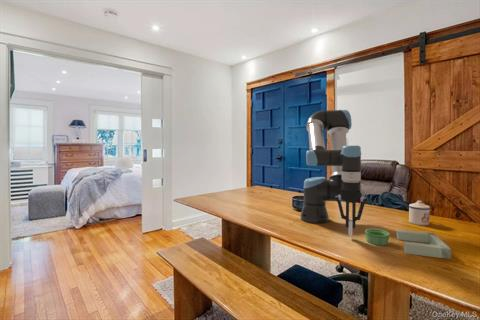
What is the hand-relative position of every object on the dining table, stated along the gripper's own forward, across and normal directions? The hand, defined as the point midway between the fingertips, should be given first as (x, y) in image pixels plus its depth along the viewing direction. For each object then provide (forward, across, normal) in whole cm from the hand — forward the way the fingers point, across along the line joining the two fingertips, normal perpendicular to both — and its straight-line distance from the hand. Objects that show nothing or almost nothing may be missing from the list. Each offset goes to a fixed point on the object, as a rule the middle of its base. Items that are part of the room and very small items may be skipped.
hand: (350, 235), depth 109 cm
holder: (+2, +25, 0) cm, 25 cm away
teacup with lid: (+2, +34, +38) cm, 51 cm away
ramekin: (+2, +10, 0) cm, 10 cm away
